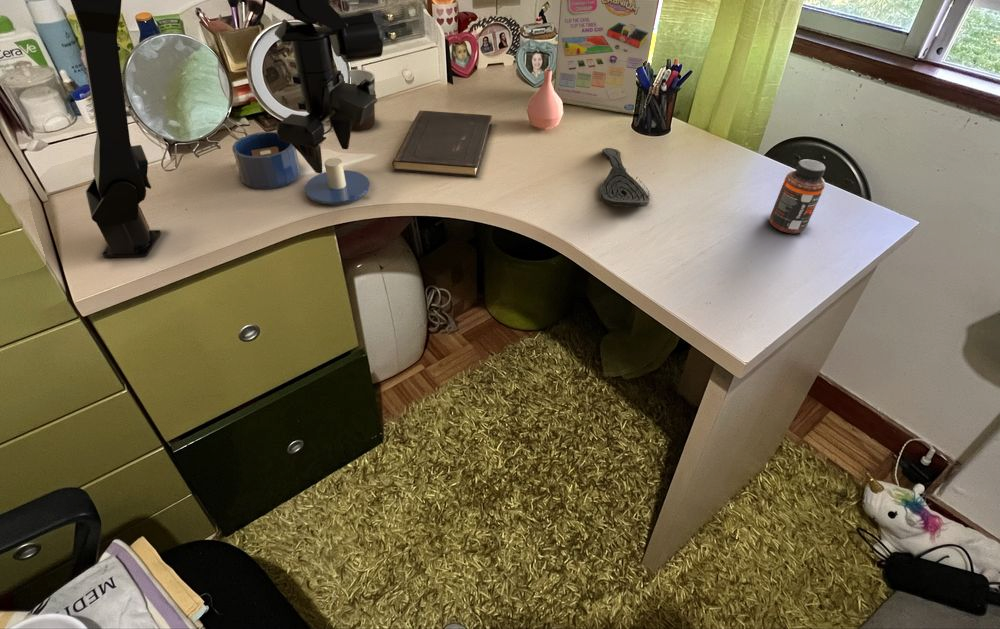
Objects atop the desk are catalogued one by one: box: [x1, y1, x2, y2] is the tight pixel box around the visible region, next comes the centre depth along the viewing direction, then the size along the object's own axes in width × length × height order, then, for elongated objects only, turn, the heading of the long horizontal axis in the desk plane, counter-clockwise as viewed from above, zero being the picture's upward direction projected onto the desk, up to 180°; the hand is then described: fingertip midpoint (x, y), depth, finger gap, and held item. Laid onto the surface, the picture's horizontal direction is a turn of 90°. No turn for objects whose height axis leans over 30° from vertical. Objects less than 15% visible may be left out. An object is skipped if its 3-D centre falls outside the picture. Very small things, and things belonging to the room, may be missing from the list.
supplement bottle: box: [769, 158, 826, 234], centre depth 95 cm, size 6×6×11 cm
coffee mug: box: [348, 68, 376, 132], centre depth 122 cm, size 12×9×10 cm
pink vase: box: [526, 68, 564, 130], centre depth 121 cm, size 8×8×12 cm
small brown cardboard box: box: [251, 146, 279, 157], centre depth 105 cm, size 4×5×4 cm
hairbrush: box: [599, 147, 650, 208], centre depth 107 cm, size 8×4×25 cm
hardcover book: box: [391, 109, 493, 178], centre depth 116 cm, size 16×23×2 cm
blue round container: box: [232, 131, 302, 190], centre depth 105 cm, size 10×10×6 cm
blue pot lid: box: [304, 157, 371, 205], centre depth 101 cm, size 11×11×6 cm
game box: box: [553, 0, 663, 115], centre depth 126 cm, size 21×6×27 cm, turn 69°
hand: (332, 160), depth 99 cm, fingers open, 9 cm apart
